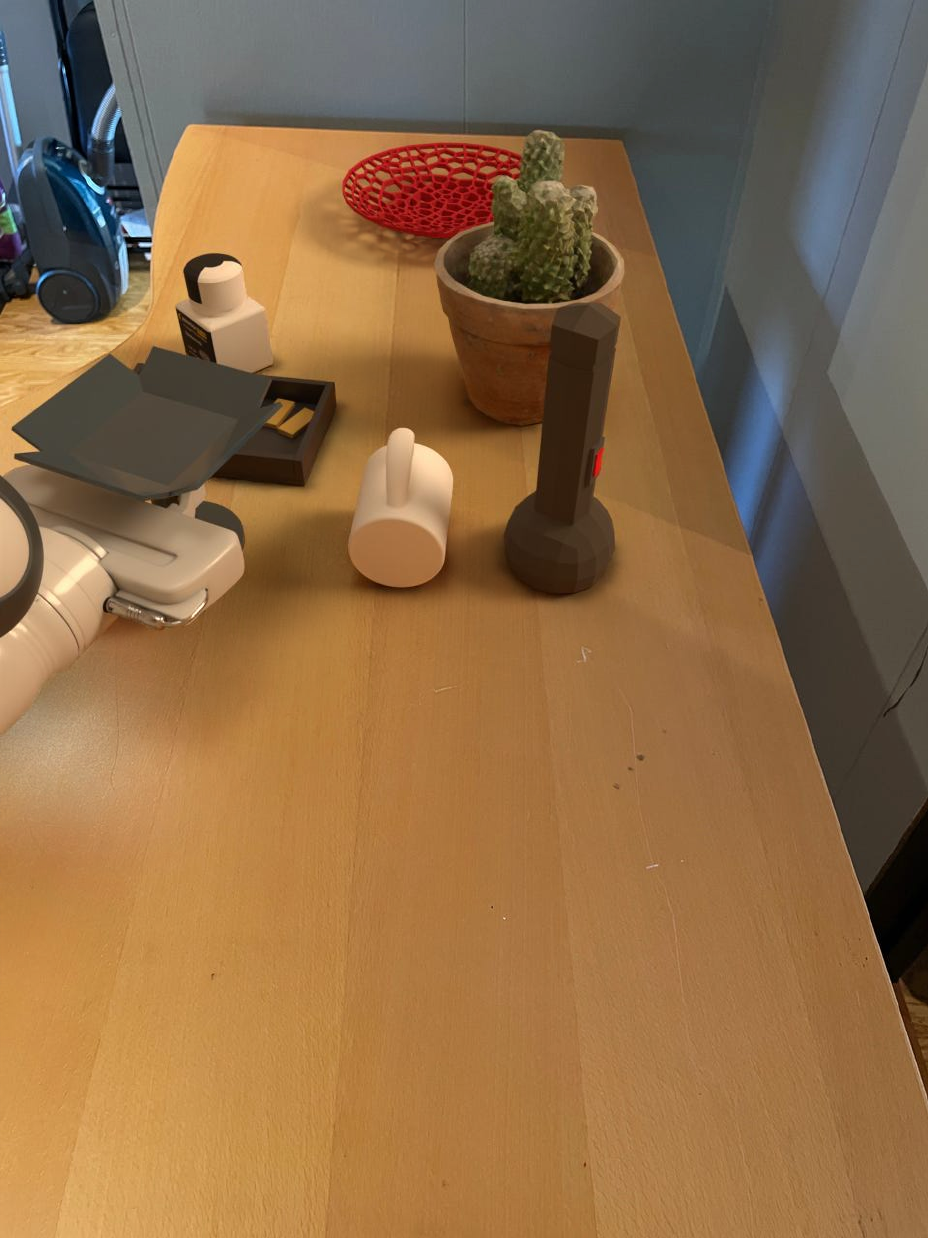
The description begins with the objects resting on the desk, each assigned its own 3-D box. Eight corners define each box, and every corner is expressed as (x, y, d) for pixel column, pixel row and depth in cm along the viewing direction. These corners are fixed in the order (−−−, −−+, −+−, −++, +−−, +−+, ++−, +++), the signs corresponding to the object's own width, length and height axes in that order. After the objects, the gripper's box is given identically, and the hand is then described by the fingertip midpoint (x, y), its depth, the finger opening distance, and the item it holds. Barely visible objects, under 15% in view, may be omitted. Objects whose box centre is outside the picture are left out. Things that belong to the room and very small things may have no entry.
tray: (93, 463, 93) (85, 438, 91) (144, 387, 102) (137, 362, 100) (304, 486, 91) (301, 460, 89) (337, 406, 101) (334, 381, 98)
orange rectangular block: (294, 401, 99) (295, 406, 99) (277, 397, 99) (278, 402, 100) (276, 424, 96) (276, 429, 97) (258, 420, 97) (259, 425, 97)
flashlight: (482, 569, 84) (581, 612, 81) (493, 314, 66) (622, 356, 62) (535, 508, 90) (629, 546, 86) (558, 258, 71) (679, 294, 68)
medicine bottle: (186, 361, 106) (163, 259, 97) (240, 339, 109) (222, 239, 100) (220, 388, 102) (199, 285, 94) (275, 364, 106) (259, 263, 97)
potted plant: (631, 429, 99) (675, 189, 80) (464, 460, 95) (470, 215, 76) (566, 340, 110) (591, 113, 92) (415, 364, 106) (409, 131, 88)
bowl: (490, 292, 118) (492, 254, 114) (301, 235, 127) (297, 198, 124) (589, 206, 135) (593, 170, 131) (416, 162, 145) (415, 127, 141)
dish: (210, 640, 71) (173, 508, 61) (42, 578, 75) (-17, 445, 66) (316, 515, 81) (300, 384, 72) (163, 466, 85) (128, 337, 76)
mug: (351, 585, 82) (340, 478, 74) (366, 509, 89) (358, 402, 80) (444, 591, 82) (444, 484, 73) (453, 514, 89) (454, 408, 80)
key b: (319, 413, 98) (320, 418, 98) (304, 407, 98) (305, 411, 99) (292, 434, 95) (292, 439, 96) (277, 427, 96) (277, 432, 96)
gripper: (166, 604, 60) (281, 481, 69) (-75, 515, 66) (60, 411, 74) (186, 667, 65) (291, 544, 73) (-40, 579, 70) (82, 474, 79)
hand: (173, 477), depth 74 cm, fingers closed on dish, 3 cm apart
